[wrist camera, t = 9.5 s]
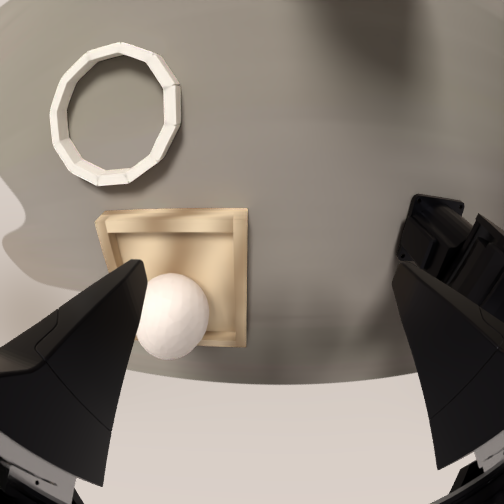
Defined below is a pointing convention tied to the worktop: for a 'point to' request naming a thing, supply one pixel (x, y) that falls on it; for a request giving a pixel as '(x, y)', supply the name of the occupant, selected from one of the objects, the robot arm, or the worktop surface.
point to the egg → (172, 316)
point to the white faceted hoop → (64, 95)
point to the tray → (188, 257)
